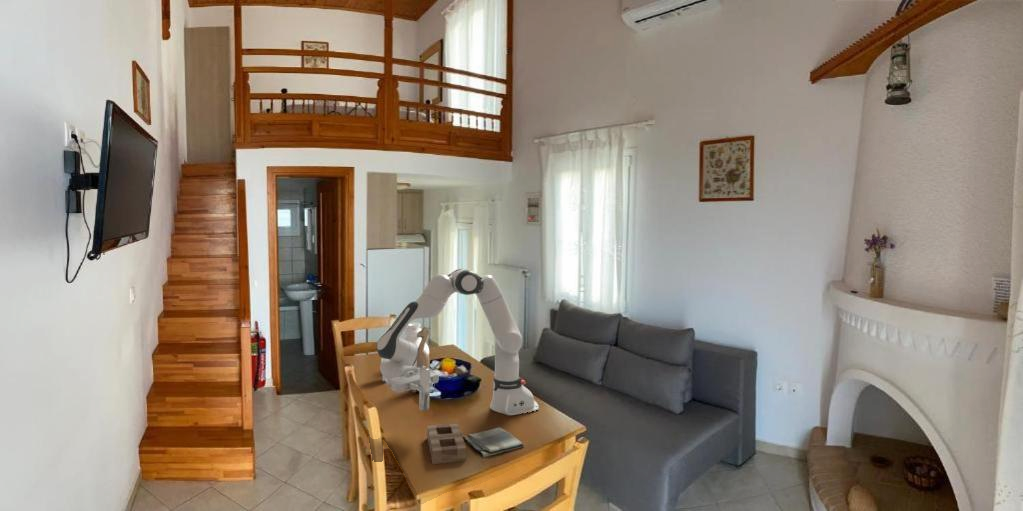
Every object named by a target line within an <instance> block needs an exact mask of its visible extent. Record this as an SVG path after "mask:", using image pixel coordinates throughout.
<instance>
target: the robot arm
mask: <svg viewBox="0 0 1023 511" xmlns="http://www.w3.org/2000/svg"><path fill="white" fill-rule="evenodd" d="M454 293H458V294H460V295H464V296H465V295H466V296H469V295H470V296H471V295H475V296H476V297H477V299H478V301H479V304H480V306H481V308H482V310H483V313H484V315H485V317H486V320H487V322H488V324H489V327H490V329H491V331H492V333H493V335H494V376H493V381H492V389H493V393H492V398H491V402H490V405H489V408H490V410H491V411H494V412H496V413H499V414H504V415H506V416H515V415H520V414H521V415H522V413H523V414H526V413H527V412H528V413H533V412H532V411H534V412H537V411H536V410H538V409H540V407H539V406H540V405H539V404H538V402H537V401H536V400H535V399H534V395H533V393H532V392H531V390H530V389H528V388H527V387H526V386H525V385H526V381H525V379H523V378H522V377H520V375H519V373H520V372H519V370H520V358H519V351H520V349H521V347H522V346H523V336H522V335H523V334H522V333H521V332H520V328H519V327H518V325H517V322H516V320H515V318H514V316H513V314H512V311H511V309H510V307H509V306H508V303H507V301H506V298H505V296H504V294H503V291H502V289H501V287H500V285H499V284H498V282H497V280H496V279H495V278H494V276H492V275H491V274H483V275H478V274H477V273H476V272H474V271H472V270H470V269H467V268H458V269H455V270H454V271H452V272H451V273H449V274H447V275H446V274H444V273H437V274H435V275H434V276H433V277H432V278H431V279H430V281H429V282H428V283H427V285H426V286H425V288H424V290H423V291H422V293H421V295H420V296H419V297H418V298H417V299H415V300H414V301H411V302H409V303H408V304H407V305H406V306H405V307H404V309H403V310H402V311H401V313H399V315H398V316H397V318H396V319H395V320H394V322H393V323H392V324H391V326H390V327H389V329H387V331H386V332H385V333H384V334H383V335H382V336H381V337H380V338H379V339H378V341H377V343H376V352H377V354H378V356H379V357H380V358H385V360H384V361H383V362H382V363H380V366H379V367H380V368H379V370H380V373H381V375H382V377H383V376H384V377H385V378H386V379H387V380H389V381H388V382H385V385H386V386H388V387H389V388H390V390H392V392H394V393H398V394H399V393H403V392H407V391H412V390H417V391H419V390H422V386H421V385H420V368H423V367H425V366H414V364H415V363H416V361H417V358H418V348H417V346H416V344H414V343H411V342H409V341H406V340H404V339H405V338H404V339H403V338H401V337H400V336H401V335H402V334H403V332H405V330H406V329H407V328H408V325H409V323H412V322H413V321H415V320H418V319H431V318H435V317H437V316H438V315H440V313H441V312H442V311H443V310H444V307H445V306H446V304H447V302H448V299H449V298H450V297H451V295H453V294H454ZM439 377H440V375H439V373H438V372H436V371H435V370H432V369H430V387H433V384H434V385H435V384H437V383H438V382H439V380H440V378H439ZM538 411H539V410H538ZM528 413H527V414H528Z"/></svg>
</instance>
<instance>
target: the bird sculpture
mask: <svg viewBox="0 0 1023 511" xmlns="http://www.w3.org/2000/svg"><path fill="white" fill-rule="evenodd" d="M421 329H422V330H421V331H419V332H418V334H417V338H418V337H421V338H422V340H421V342H420V345H419V347H418V358H417V366H425V367H428V368H430V366H431V365H430V364H431V363H430V361H431V360H430V356H429V355H430V354H429V355H428V354H427V353H426V352H425V351H424V345H425V342H426V341H427V338H428V336H429V334H430V331H429V328H428V327H426V326H424V327H423V328H421ZM426 343H427V342H426ZM430 369H431V368H430ZM412 392H414V393H415V392H416V390H411V393H412Z"/></svg>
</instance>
